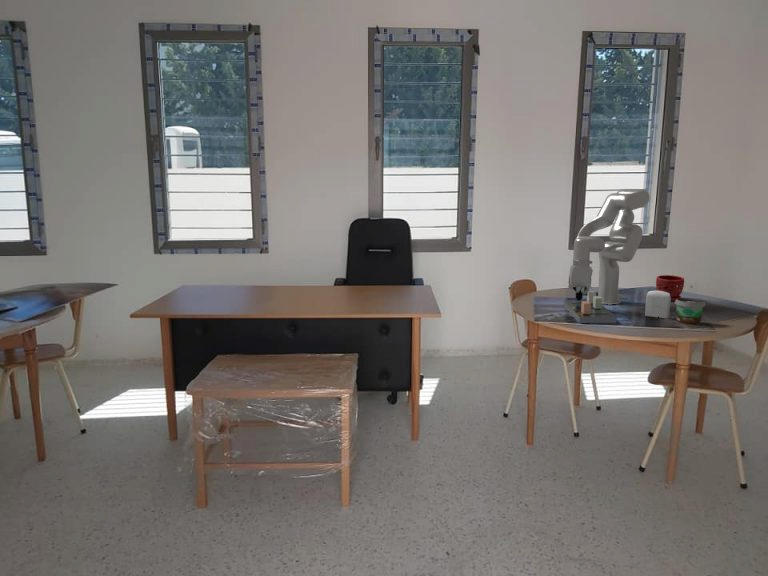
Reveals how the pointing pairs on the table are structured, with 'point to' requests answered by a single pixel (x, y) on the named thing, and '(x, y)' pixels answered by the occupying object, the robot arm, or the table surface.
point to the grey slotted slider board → (595, 314)
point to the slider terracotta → (585, 307)
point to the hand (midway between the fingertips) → (578, 300)
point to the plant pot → (670, 285)
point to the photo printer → (658, 304)
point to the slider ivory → (590, 296)
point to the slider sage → (597, 302)
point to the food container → (689, 311)
